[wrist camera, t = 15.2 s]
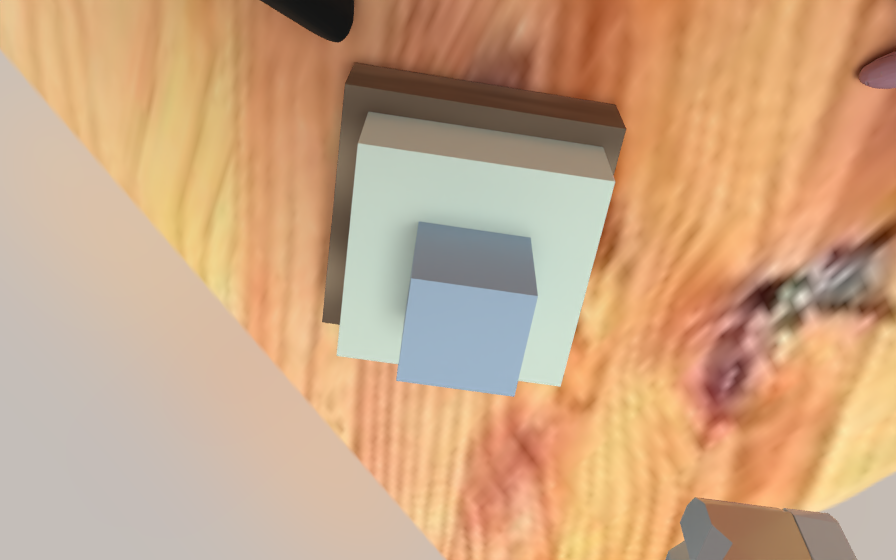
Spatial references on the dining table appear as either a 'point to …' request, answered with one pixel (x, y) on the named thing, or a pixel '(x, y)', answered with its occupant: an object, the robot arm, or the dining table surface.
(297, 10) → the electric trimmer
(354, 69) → the walnut slab
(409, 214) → the sage slab
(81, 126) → the dining table surface
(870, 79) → the video game controller
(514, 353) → the blue cube
